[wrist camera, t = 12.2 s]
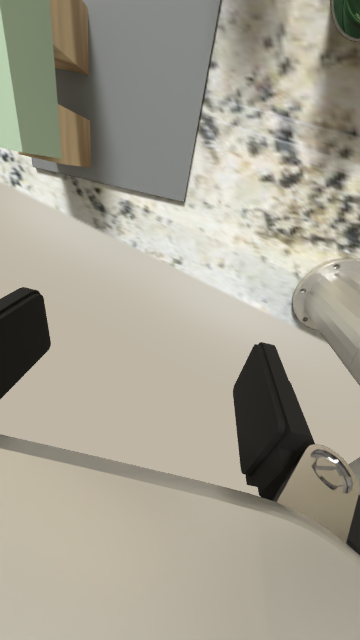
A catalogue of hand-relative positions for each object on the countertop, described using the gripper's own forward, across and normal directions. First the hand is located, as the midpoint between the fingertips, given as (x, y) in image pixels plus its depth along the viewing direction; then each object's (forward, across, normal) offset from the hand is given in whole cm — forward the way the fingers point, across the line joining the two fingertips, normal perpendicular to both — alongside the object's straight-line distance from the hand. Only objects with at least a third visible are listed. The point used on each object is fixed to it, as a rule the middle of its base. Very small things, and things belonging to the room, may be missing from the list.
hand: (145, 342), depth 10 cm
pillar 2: (+28, +18, -8) cm, 34 cm away
